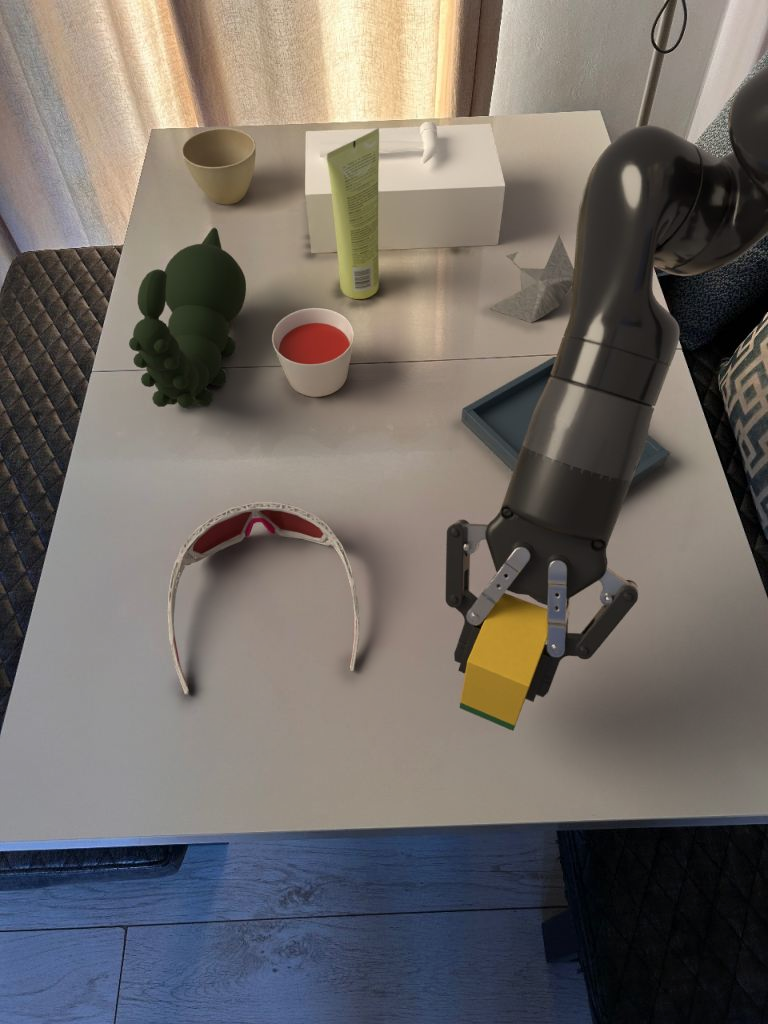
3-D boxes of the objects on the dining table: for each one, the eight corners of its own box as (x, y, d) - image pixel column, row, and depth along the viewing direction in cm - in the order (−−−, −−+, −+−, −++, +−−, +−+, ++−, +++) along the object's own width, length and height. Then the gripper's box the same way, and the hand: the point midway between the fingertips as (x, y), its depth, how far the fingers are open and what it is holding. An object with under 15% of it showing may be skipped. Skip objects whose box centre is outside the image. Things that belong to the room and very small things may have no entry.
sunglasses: (345, 512, 78) (343, 491, 73) (367, 676, 71) (366, 664, 67) (174, 533, 77) (161, 513, 72) (180, 703, 70) (166, 692, 65)
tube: (343, 271, 100) (333, 124, 84) (382, 273, 100) (379, 126, 83) (337, 300, 97) (326, 153, 81) (377, 302, 96) (374, 155, 80)
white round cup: (316, 417, 86) (311, 377, 80) (263, 377, 89) (255, 336, 84) (372, 375, 89) (370, 334, 84) (319, 338, 93) (314, 297, 88)
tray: (664, 465, 81) (670, 453, 80) (570, 528, 77) (574, 516, 75) (551, 369, 89) (554, 356, 88) (460, 421, 85) (462, 408, 83)
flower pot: (258, 215, 107) (250, 168, 101) (187, 215, 107) (175, 167, 101) (266, 174, 112) (259, 126, 107) (199, 174, 113) (188, 126, 107)
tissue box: (497, 244, 103) (507, 168, 93) (311, 253, 102) (303, 177, 93) (484, 182, 111) (492, 106, 102) (311, 189, 110) (304, 114, 101)
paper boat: (522, 335, 91) (468, 284, 93) (525, 347, 97) (475, 299, 99) (597, 259, 89) (540, 208, 91) (595, 276, 95) (542, 228, 97)
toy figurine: (227, 443, 86) (264, 282, 98) (185, 326, 69) (236, 149, 81) (146, 438, 86) (192, 278, 99) (85, 320, 70) (150, 145, 82)
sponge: (538, 663, 61) (556, 612, 54) (513, 731, 58) (529, 686, 51) (486, 642, 62) (497, 589, 55) (459, 708, 59) (467, 661, 52)
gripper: (466, 426, 49) (391, 661, 53) (689, 499, 46) (591, 746, 50) (487, 423, 56) (419, 631, 60) (682, 486, 53) (596, 703, 57)
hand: (497, 681), depth 55 cm, fingers closed on sponge, 4 cm apart
